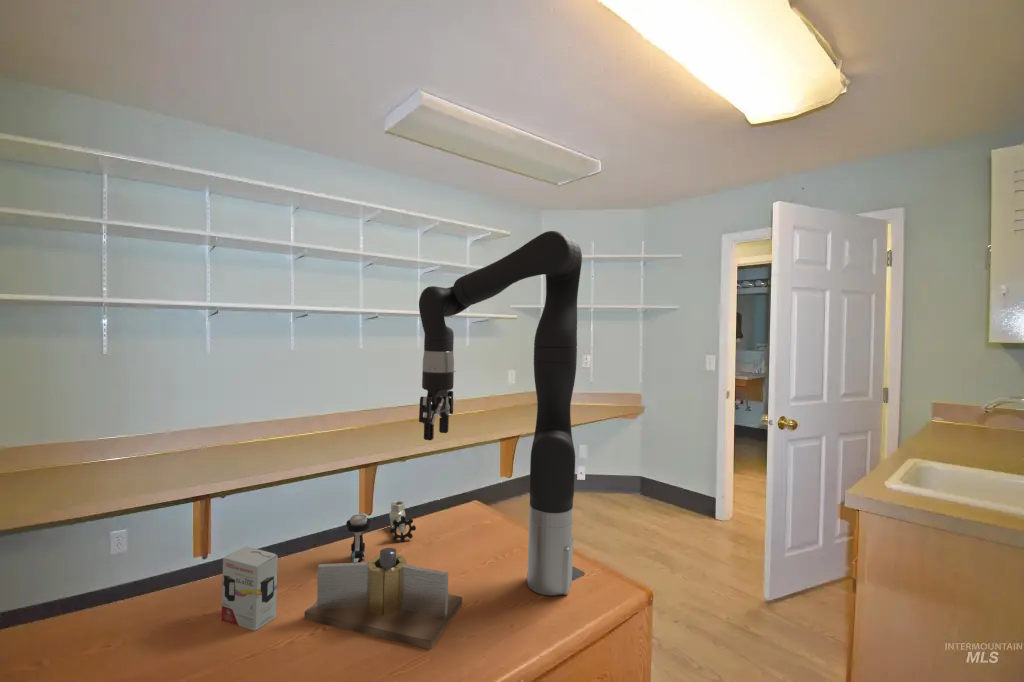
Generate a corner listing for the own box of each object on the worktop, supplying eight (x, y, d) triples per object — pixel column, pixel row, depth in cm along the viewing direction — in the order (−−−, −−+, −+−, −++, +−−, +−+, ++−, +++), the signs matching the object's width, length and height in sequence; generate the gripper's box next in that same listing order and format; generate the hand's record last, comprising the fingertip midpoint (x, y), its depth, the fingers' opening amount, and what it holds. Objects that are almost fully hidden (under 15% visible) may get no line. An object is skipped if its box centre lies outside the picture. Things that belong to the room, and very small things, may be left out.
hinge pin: (398, 599, 93) (399, 549, 92) (390, 608, 90) (391, 556, 89) (384, 597, 93) (385, 546, 93) (376, 605, 90) (377, 553, 90)
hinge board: (461, 604, 94) (462, 596, 94) (430, 649, 81) (430, 640, 81) (350, 581, 102) (350, 574, 101) (304, 619, 88) (304, 611, 88)
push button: (367, 567, 107) (368, 524, 107) (342, 569, 106) (343, 525, 106) (370, 554, 114) (371, 512, 114) (347, 555, 113) (348, 513, 113)
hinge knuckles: (453, 606, 91) (454, 565, 91) (432, 635, 82) (433, 590, 82) (345, 584, 98) (346, 545, 98) (315, 608, 89) (316, 566, 89)
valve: (383, 525, 131) (389, 544, 119) (384, 501, 130) (389, 518, 119) (408, 522, 133) (415, 541, 122) (408, 499, 133) (416, 515, 122)
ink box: (219, 620, 87) (220, 556, 87) (243, 606, 92) (244, 545, 91) (255, 632, 84) (256, 566, 84) (277, 616, 89) (278, 554, 88)
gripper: (440, 372, 108) (438, 444, 108) (463, 368, 122) (461, 431, 122) (410, 371, 110) (408, 441, 110) (436, 366, 124) (435, 429, 124)
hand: (436, 436), depth 116 cm, fingers open, 8 cm apart
